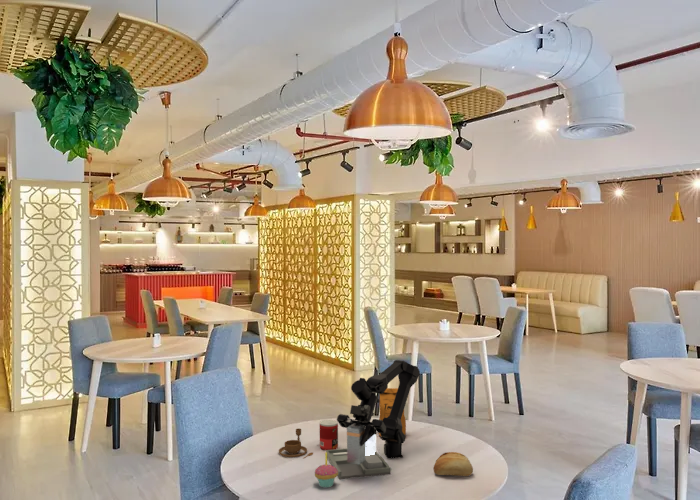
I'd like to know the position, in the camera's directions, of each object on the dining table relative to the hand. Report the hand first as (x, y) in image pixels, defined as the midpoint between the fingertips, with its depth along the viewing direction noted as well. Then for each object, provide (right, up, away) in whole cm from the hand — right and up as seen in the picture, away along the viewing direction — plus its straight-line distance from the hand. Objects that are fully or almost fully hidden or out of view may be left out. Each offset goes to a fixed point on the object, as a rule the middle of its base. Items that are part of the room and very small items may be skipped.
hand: (354, 444), depth 220 cm
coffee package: (+18, -13, +50) cm, 55 cm away
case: (+1, -13, +16) cm, 21 cm away
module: (+1, -7, +1) cm, 7 cm away
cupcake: (-10, -14, -4) cm, 18 cm away
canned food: (-11, -13, +35) cm, 39 cm away
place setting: (-24, -14, +33) cm, 43 cm away
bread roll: (+37, -14, +6) cm, 40 cm away
